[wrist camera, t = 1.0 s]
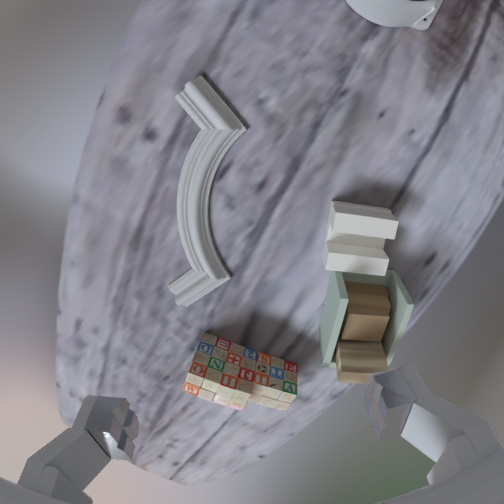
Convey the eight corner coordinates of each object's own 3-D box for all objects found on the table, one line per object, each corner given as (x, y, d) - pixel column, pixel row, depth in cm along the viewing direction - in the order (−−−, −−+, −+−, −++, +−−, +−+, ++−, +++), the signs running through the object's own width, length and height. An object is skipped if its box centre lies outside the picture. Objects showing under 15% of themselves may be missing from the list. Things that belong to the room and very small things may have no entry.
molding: (179, 75, 44) (173, 73, 41) (254, 79, 43) (251, 77, 40) (170, 299, 62) (165, 307, 59) (228, 311, 61) (225, 320, 59)
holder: (331, 200, 49) (336, 210, 44) (389, 208, 48) (399, 219, 43) (322, 256, 53) (325, 271, 48) (376, 262, 53) (384, 277, 48)
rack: (332, 263, 54) (340, 298, 44) (395, 270, 53) (414, 304, 43) (318, 326, 60) (321, 366, 50) (375, 331, 59) (387, 370, 49)
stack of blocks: (298, 363, 65) (297, 407, 53) (286, 380, 67) (284, 423, 56) (203, 331, 64) (187, 372, 53) (197, 350, 66) (181, 391, 55)
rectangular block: (333, 314, 57) (341, 371, 43) (373, 317, 56) (390, 373, 42) (331, 324, 58) (338, 382, 44) (370, 327, 57) (385, 383, 43)
